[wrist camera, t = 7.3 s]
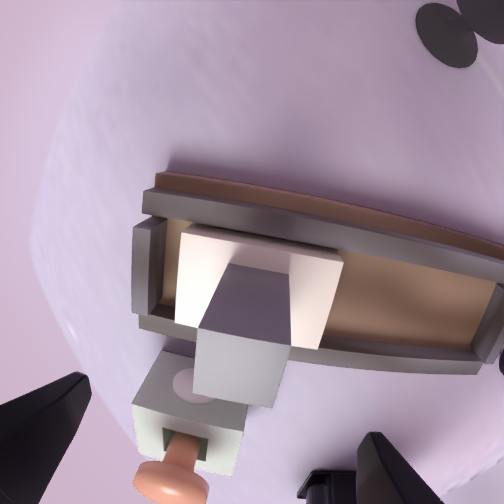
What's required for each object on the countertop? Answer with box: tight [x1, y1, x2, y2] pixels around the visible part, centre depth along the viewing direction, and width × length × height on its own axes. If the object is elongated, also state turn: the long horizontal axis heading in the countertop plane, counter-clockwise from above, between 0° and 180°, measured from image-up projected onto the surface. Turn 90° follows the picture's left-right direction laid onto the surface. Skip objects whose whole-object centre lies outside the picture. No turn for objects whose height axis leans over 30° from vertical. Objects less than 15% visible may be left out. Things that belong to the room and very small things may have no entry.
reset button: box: [133, 432, 209, 504], centre depth 16 cm, size 4×4×5 cm
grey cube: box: [131, 350, 248, 477], centre depth 20 cm, size 6×7×6 cm
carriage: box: [175, 223, 344, 408], centre depth 14 cm, size 5×8×8 cm, turn 81°
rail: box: [131, 172, 504, 375], centre depth 17 cm, size 10×24×4 cm, turn 81°
